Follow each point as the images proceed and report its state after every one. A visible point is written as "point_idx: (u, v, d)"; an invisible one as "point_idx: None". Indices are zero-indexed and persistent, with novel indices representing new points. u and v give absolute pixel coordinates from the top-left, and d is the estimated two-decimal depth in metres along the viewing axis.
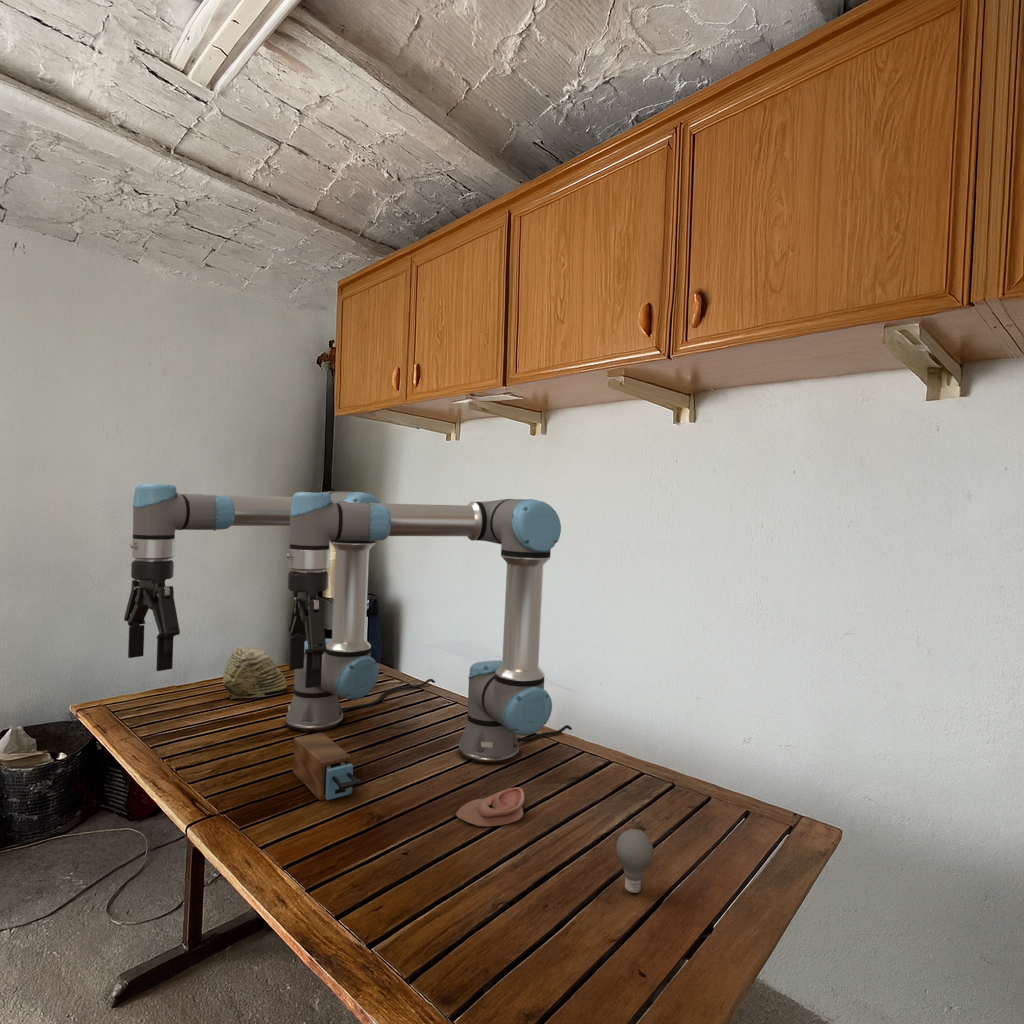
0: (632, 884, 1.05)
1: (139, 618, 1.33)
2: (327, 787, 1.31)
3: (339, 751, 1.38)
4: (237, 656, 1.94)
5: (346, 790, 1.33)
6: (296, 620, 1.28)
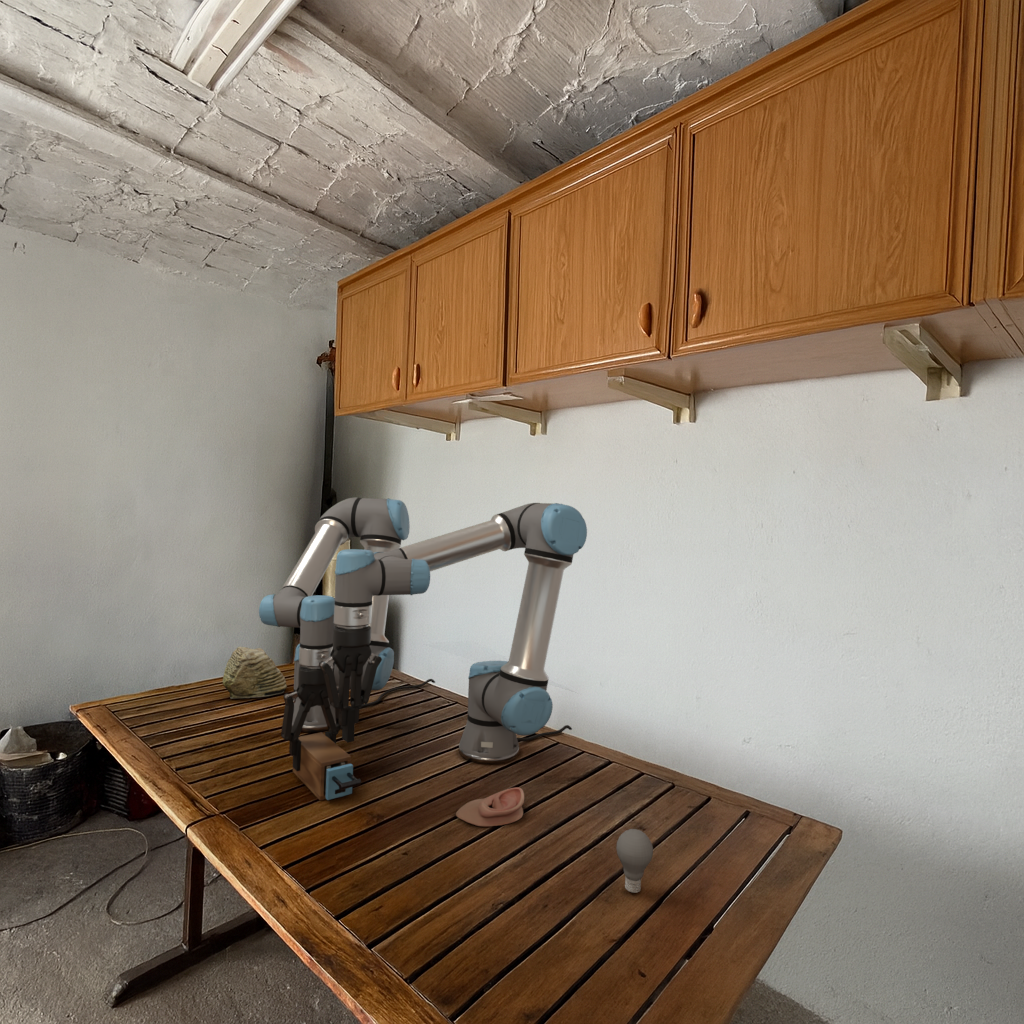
0: (632, 884, 1.05)
1: None
2: (327, 787, 1.31)
3: (339, 751, 1.38)
4: (237, 656, 1.94)
5: (346, 790, 1.33)
6: None
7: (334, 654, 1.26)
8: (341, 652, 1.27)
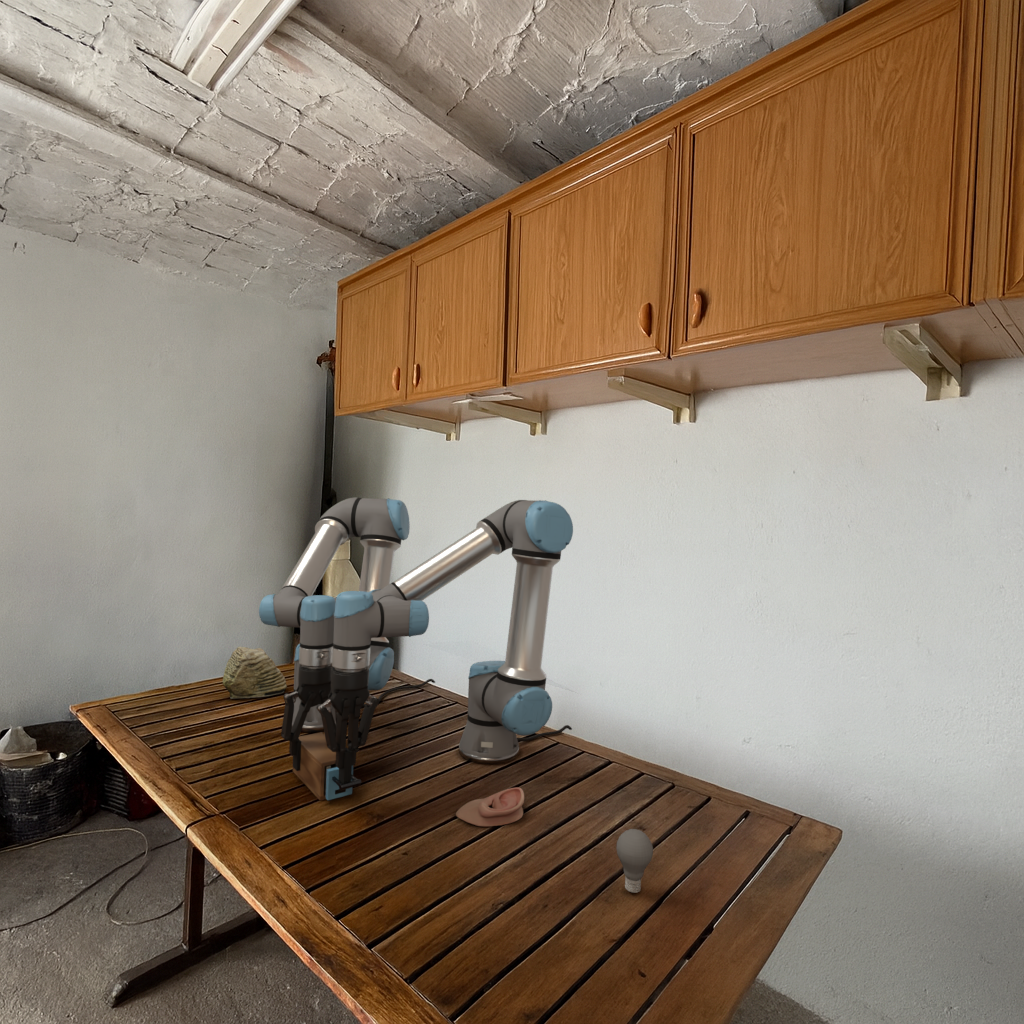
0: (632, 884, 1.05)
1: None
2: (327, 787, 1.31)
3: None
4: (237, 656, 1.94)
5: (346, 790, 1.33)
6: None
7: (332, 697, 1.26)
8: (339, 695, 1.27)
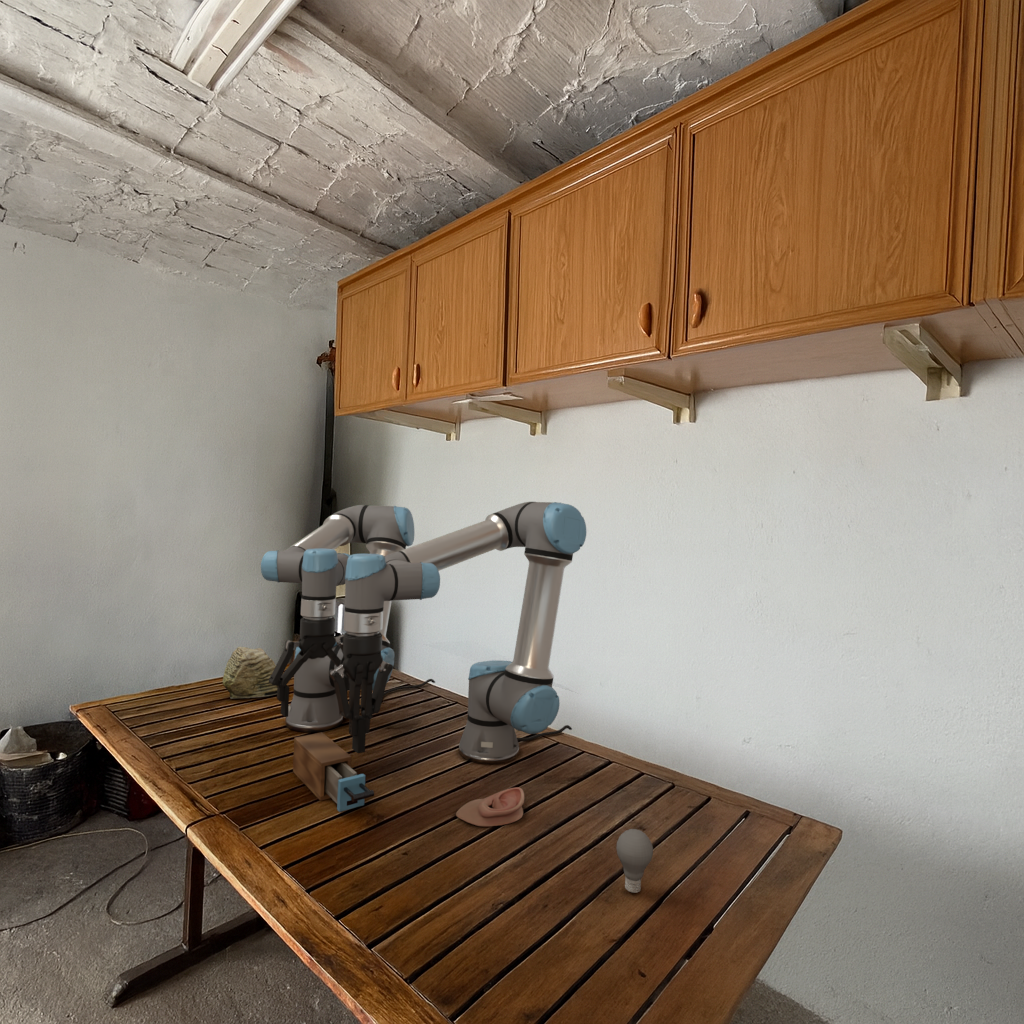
0: (632, 884, 1.05)
1: None
2: (339, 798, 1.26)
3: (339, 751, 1.38)
4: (237, 656, 1.94)
5: (358, 801, 1.28)
6: None
7: (344, 662, 1.22)
8: (351, 660, 1.23)
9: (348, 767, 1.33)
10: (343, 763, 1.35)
